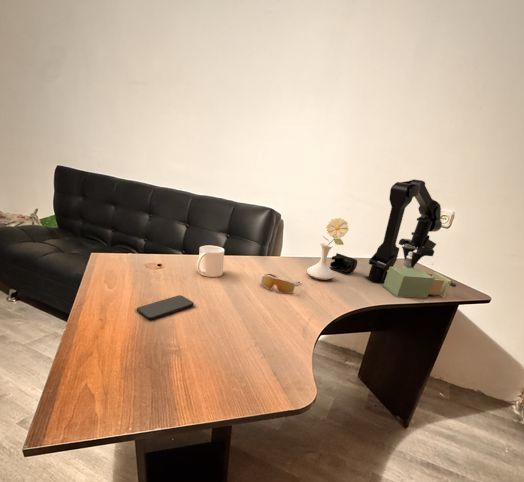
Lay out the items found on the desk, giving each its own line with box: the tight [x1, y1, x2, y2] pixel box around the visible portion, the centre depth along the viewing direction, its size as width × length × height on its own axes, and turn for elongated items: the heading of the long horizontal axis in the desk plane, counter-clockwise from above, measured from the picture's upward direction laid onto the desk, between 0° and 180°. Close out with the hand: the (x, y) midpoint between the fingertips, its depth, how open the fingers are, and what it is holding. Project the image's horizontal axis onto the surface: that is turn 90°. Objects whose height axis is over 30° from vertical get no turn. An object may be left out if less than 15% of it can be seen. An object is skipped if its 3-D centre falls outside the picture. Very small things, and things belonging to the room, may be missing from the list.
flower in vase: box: [306, 217, 349, 281], centre depth 121 cm, size 13×11×25 cm
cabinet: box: [382, 266, 435, 299], centre depth 123 cm, size 14×11×9 cm
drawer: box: [426, 271, 457, 297], centre depth 125 cm, size 17×9×7 cm, turn 100°
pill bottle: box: [402, 251, 415, 269], centre depth 143 cm, size 5×5×8 cm
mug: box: [195, 245, 225, 278], centre depth 113 cm, size 12×9×9 cm
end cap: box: [329, 252, 358, 276], centre depth 138 cm, size 10×7×7 cm
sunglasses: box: [261, 273, 302, 294], centre depth 113 cm, size 14×15×5 cm
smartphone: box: [136, 294, 195, 321], centre depth 87 cm, size 7×1×15 cm
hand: (409, 264), depth 144 cm, fingers closed on pill bottle, 5 cm apart
